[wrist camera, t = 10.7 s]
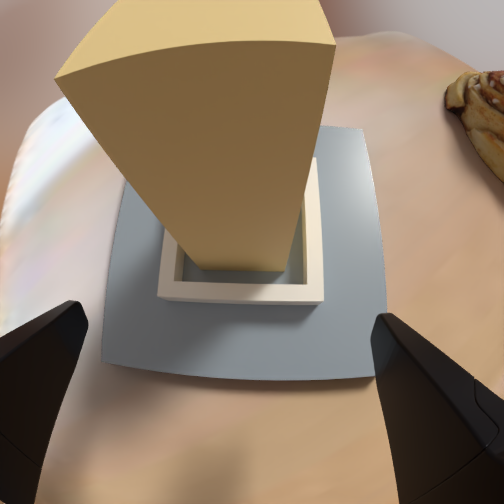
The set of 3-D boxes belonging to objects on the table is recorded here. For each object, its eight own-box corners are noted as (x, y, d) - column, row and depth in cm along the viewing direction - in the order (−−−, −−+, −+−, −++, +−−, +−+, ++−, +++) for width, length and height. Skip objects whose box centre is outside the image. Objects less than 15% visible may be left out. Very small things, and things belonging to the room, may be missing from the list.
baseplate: (379, 372, 15) (398, 376, 12) (110, 361, 15) (87, 362, 13) (358, 139, 19) (367, 115, 17) (146, 140, 20) (134, 117, 18)
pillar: (284, 271, 16) (335, 45, 3) (200, 269, 16) (53, 79, 3) (283, 196, 17) (303, -32, 4) (207, 195, 17) (133, -15, 5)
